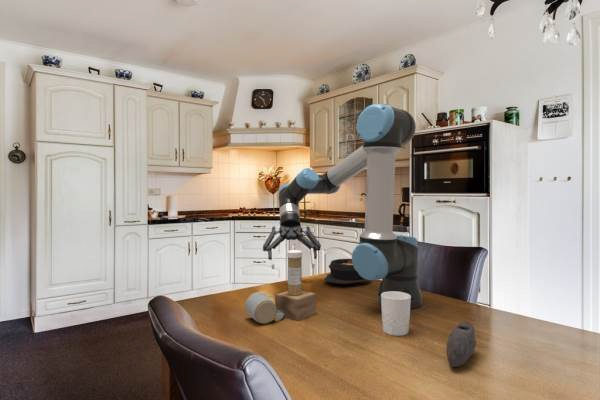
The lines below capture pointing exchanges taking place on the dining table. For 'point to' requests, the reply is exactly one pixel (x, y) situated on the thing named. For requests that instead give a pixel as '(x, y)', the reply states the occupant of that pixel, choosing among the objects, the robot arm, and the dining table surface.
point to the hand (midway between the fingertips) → (293, 266)
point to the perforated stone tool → (460, 344)
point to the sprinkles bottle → (294, 272)
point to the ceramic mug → (262, 308)
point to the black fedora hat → (343, 272)
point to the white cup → (395, 312)
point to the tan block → (296, 305)
